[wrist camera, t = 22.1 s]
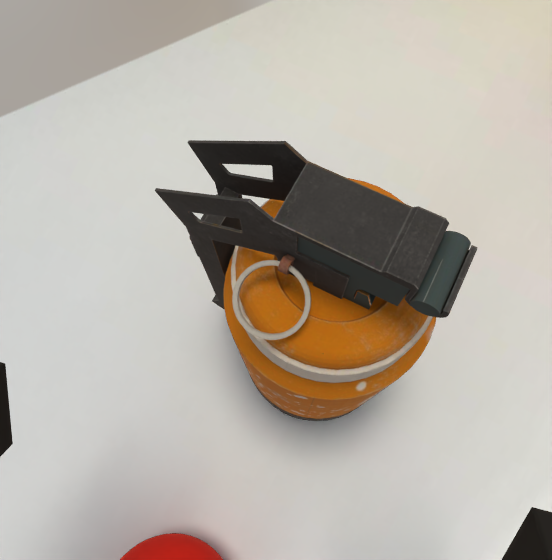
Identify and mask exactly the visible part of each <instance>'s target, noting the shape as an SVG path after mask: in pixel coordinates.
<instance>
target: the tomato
mask: <svg viewBox="0 0 552 560" xmlns="http://www.w3.org/2000/svg"><path fill="white" fill-rule="evenodd" d="M120 560H223V559H222V558H221V556H220V555H219V554H218V553H217V552H216V551H215V550H214V549H213V548H212V547H211V546H209V545H208V544H207V543H205V542H203V541H202V540H200V539H198V538H195V537H193V536H189V535H185V534H176V533H172V534H163V535H159V536H155V537H152V538H150V539H147V540H145V541H143V542H141V543H139V544H138V545H136V546H135V547H133V548H132V549H131V550H130V551H128V552H127V553H126V554H125V555H124V556H123V557H122V558H121V559H120Z"/></svg>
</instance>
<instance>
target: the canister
mask: <svg viewBox="0 0 552 560" xmlns="http://www.w3.org/2000/svg"><path fill="white" fill-rule="evenodd" d="M188 144H189V145H190V147H191V148H192V150H193V151H194V153H195V154H196V156H197V157H198V158H199V160H200V161H201V163H202V164H203V166H204V167H205V169H206V170H207V172H208V173H209V175H210V176H211V177H212V179H213V180H214V182H215V184H216V188H217V192H218V195H208V194H200V193H191V192H183V191H175V190H166V189H158V188H156V190H155V191H156V192H157V194H158V195H159V196H160V197H161V198H162V199H163V201H164V202H165V203H166V204H167V205H168V206H169V208H170V209H171V210H172V211H173V212H174V213H175V215H176V216H177V217H178V218H179V219H180V220H181V222H182V223H183V224H184V225H185V226H186V228H187V230H188V232H189V234H190V240H191V242H192V244H193V246H194V249H195V251H196V253H197V255H198V256H199V257H200V259H201V262H202V264H203V266H204V269H205V271H206V273H207V275H208V278H209V280H210V282H211V285H212V287H213V289H214V291H215V294H216V295H215V297H214V299H213V300H212V301H213V302H214V303H216V304H217V305H219V306H220V307H222V308H223V309H225V313H226V318H227V323H228V325H229V328H230V331H231V333H232V336H233V338H234V341H235V343H236V345H237V347H238V349H239V352H240V354H241V356H242V358H243V361H244V363H245V365H246V367H247V369H248V372H249V374H250V376H251V378H252V380H253V382H254V384H255V386H256V387H257V389H258V390H259V392H260V393H261V394H262V395H263V397H264V398H265V399H266V400H267V401H268V402H269V403H271V404H272V405H273V406H274V407H276V408H277V409H279V410H280V411H282V412H284V413H286V414H288V415H290V416H293V417H296V418H300V419H304V420H312V421H321V420H330V419H334V418H338V417H341V416H343V415H345V414H348V413H350V412H351V411H353V410H355V409H356V408H358V407H359V406H361V405H362V404H363V403H365V402H366V401H368V400H369V399H371V398H372V397H373V396H375V395H376V394H378V393H379V392H380V391H382V390H383V389H385V388H386V387H387V386H389V385H390V384H392V383H393V382H394V381H396V380H397V379H399V378H400V377H401V376H402V375H403V374H404V373H405V372H407V371H408V370H409V369H410V368H411V367H412V366H413V365H414V363H415V362H416V361H417V360H418V358H419V357H420V356H421V355H422V353H423V351H424V349H425V347H426V346H427V344H428V342H429V340H430V338H431V335H432V332H433V329H434V326H435V322H436V317H439V318H443V317H447V316H448V315H449V313H450V310H451V308H452V306H453V304H454V301H455V299H456V297H457V294H458V292H459V290H460V287H461V285H462V283H463V280H464V278H465V276H466V273H467V271H468V269H469V267H470V264H471V262H472V260H473V257H474V255H475V253H476V250H477V247H475V246H473V245H472V246H471V248H470V250H468V249H469V247H470V244H471V243H470V241H469V239H468V238H467V237H466V236H464V235H462V234H460V233H458V232H453V231H446V229H447V227H448V224H449V222H448V221H447V220H446V218H444V217H441V216H439V215H437V214H435V213H432V212H430V211H428V210H426V209H423V208H421V207H419V206H418V207H411V206H409V205H406V204H404V203H403V202H402V201H401V200H399V199H398V198H396V197H395V196H394V195H392V194H391V193H389V192H387V191H385V190H383V189H381V188H380V187H378V186H375V185H372V184H369V183H366V182H364V181H359V180H354V179H350V178H345V177H343V176H341V175H338V174H336V173H334V172H332V171H329V170H327V169H325V168H322V167H320V166H318V165H316V164H313V163H311V162H309V161H307V160H306V159H305V158H304V157H303V156H302V155H301V154H299V153H298V152H297V151H296V150H295V149H294V148H293V147H292V146H290V145H289V144H288V143H287V142H286V141H188ZM222 164H251V165H271V166H272V168H273V180H269V179H263V178H257V177H251V176H245V175H239V174H233V173H230V172H229V171H228V170H227V169H226V168H225V167H224V166H223V165H222ZM242 195H248V196H255V197H261V198H267V199H269V200H268V201H267V202H265V203H264V204H263V205H262V206H261V207H259V206H258V205H257V204H256V203H254V202H253V201H252V200H251V199H243V198H242ZM192 212H194V213H202V214H204V215H203V216H202V218H201V220H200V219H198V218H197V217H196V216H195V215H194V214H193V213H192ZM445 231H446V232H445Z"/></svg>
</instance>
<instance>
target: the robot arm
mask: <svg viewBox="0 0 552 560" xmlns="http://www.w3.org/2000/svg"><path fill="white" fill-rule="evenodd" d="M12 444H13V443H12V432H11V422H10V411H9V400H8V389H7V378H6V367H5V363H1V362H0V456H1V455H2V454H3V453H4V452H5V451H6V450H7V449H8V448H9V447H10V446H11V445H12ZM502 560H552V512H548V511H544V510H541V509H537V508H533V507H532V508H531V510H530V511H529V513H528V515H527V517H526V518H525V520H524V522H523V524H522V525H521V527H520V529H519V531H518V532H517V534H516V536H515V537H514V539H513V541H512V543H511V544H510V546H509V548H508V550H507V551H506V553H505V555H504V557H503V558H502Z"/></svg>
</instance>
